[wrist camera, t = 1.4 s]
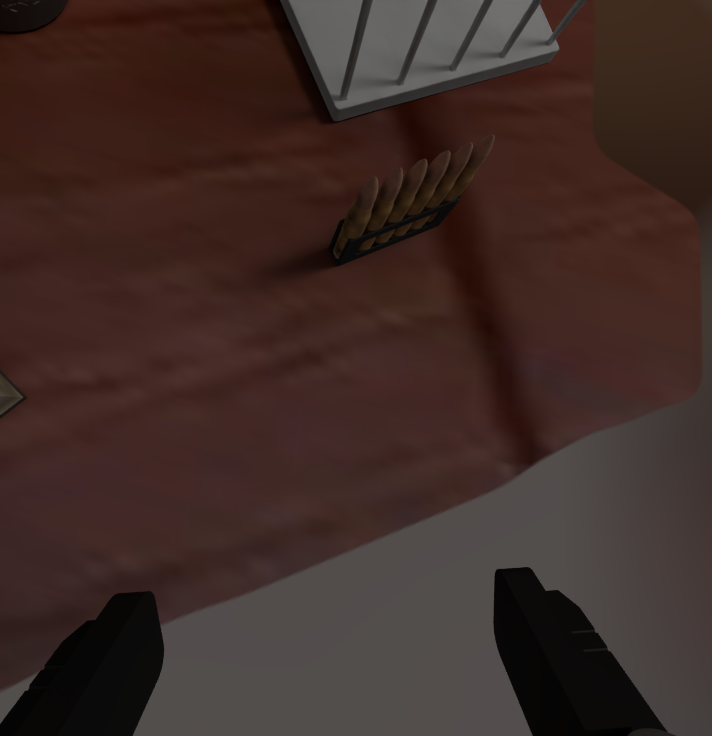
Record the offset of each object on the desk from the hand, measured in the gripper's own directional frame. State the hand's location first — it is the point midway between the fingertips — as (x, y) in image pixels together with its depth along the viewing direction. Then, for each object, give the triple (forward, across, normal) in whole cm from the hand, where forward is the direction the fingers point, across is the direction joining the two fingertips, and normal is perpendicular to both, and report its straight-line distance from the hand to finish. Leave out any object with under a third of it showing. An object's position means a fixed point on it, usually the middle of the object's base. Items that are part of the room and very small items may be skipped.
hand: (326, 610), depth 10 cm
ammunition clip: (+31, -5, -10) cm, 33 cm away
